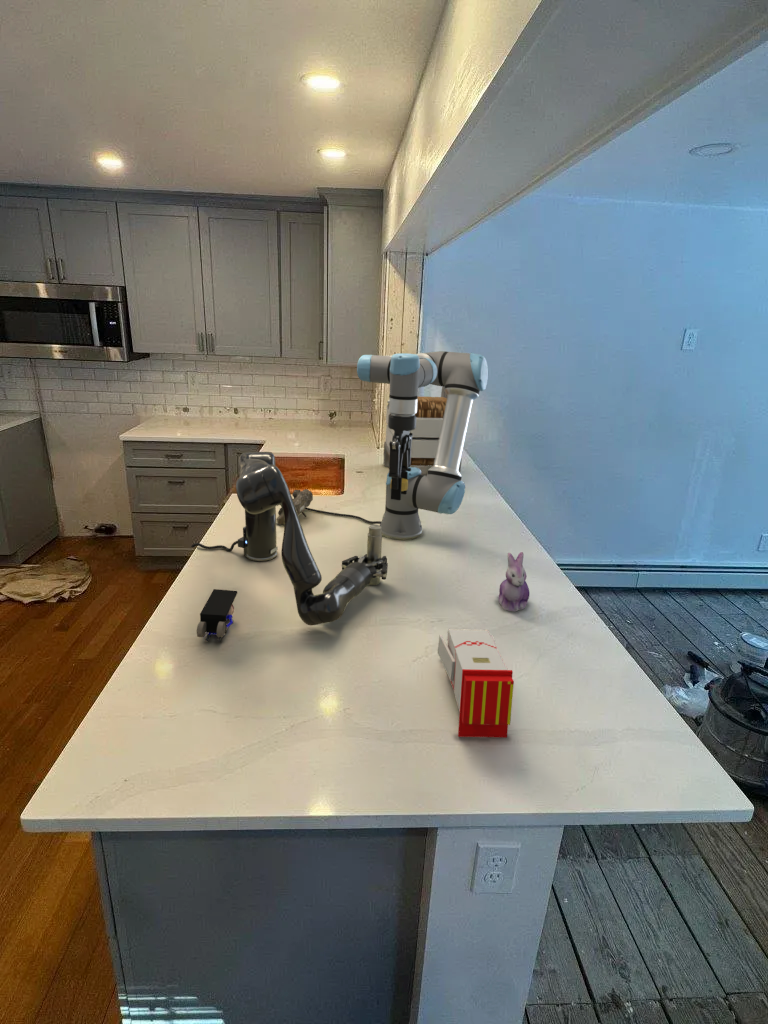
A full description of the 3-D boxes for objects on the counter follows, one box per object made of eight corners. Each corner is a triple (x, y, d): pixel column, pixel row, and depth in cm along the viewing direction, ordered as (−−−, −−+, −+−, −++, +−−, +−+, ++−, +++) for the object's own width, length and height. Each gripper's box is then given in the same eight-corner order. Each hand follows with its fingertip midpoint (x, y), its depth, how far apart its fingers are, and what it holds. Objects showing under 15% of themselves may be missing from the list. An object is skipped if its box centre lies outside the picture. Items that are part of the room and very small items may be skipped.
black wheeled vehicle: (226, 651, 131) (240, 612, 144) (223, 625, 127) (238, 587, 141) (197, 650, 130) (213, 611, 144) (193, 624, 127) (210, 586, 140)
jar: (376, 578, 167) (379, 523, 161) (382, 584, 163) (384, 528, 157) (363, 580, 165) (365, 525, 159) (369, 586, 162) (371, 530, 156)
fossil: (282, 495, 221) (310, 474, 216) (298, 513, 224) (326, 493, 219) (266, 520, 201) (297, 498, 196) (284, 540, 204) (315, 519, 199)
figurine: (511, 616, 149) (518, 564, 143) (487, 598, 157) (493, 549, 152) (539, 609, 153) (547, 558, 148) (514, 592, 161) (521, 544, 156)
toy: (488, 613, 130) (523, 677, 101) (484, 667, 133) (517, 744, 104) (435, 612, 130) (455, 676, 101) (432, 666, 133) (451, 743, 103)
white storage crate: (382, 463, 289) (386, 382, 275) (445, 464, 293) (451, 384, 279) (390, 482, 257) (394, 392, 243) (460, 483, 261) (468, 394, 247)
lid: (399, 492, 155) (400, 484, 154) (386, 488, 158) (387, 480, 158) (411, 488, 159) (411, 480, 158) (398, 484, 162) (398, 476, 161)
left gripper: (376, 573, 146) (401, 550, 160) (327, 562, 151) (356, 540, 166) (375, 599, 148) (399, 574, 163) (327, 587, 153) (355, 564, 168)
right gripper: (399, 407, 160) (396, 485, 168) (378, 418, 144) (375, 504, 153) (425, 409, 158) (420, 489, 166) (406, 421, 142) (401, 508, 150)
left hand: (377, 557), depth 164 cm, fingers closed on jar, 4 cm apart
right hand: (398, 496), depth 159 cm, fingers closed on lid, 5 cm apart
